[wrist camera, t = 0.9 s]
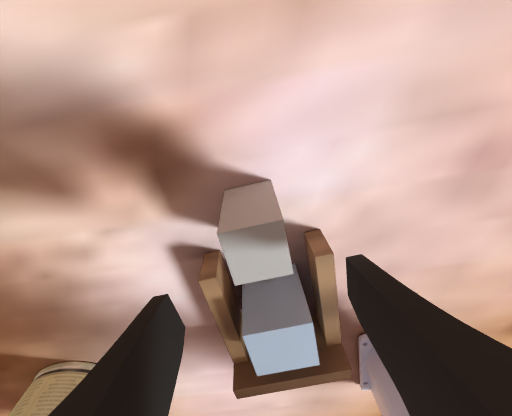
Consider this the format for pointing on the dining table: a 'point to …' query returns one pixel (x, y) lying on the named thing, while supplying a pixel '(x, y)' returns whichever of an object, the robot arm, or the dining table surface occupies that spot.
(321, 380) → the walnut lane
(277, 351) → the tethered block
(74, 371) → the coffee can
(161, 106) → the dining table surface
